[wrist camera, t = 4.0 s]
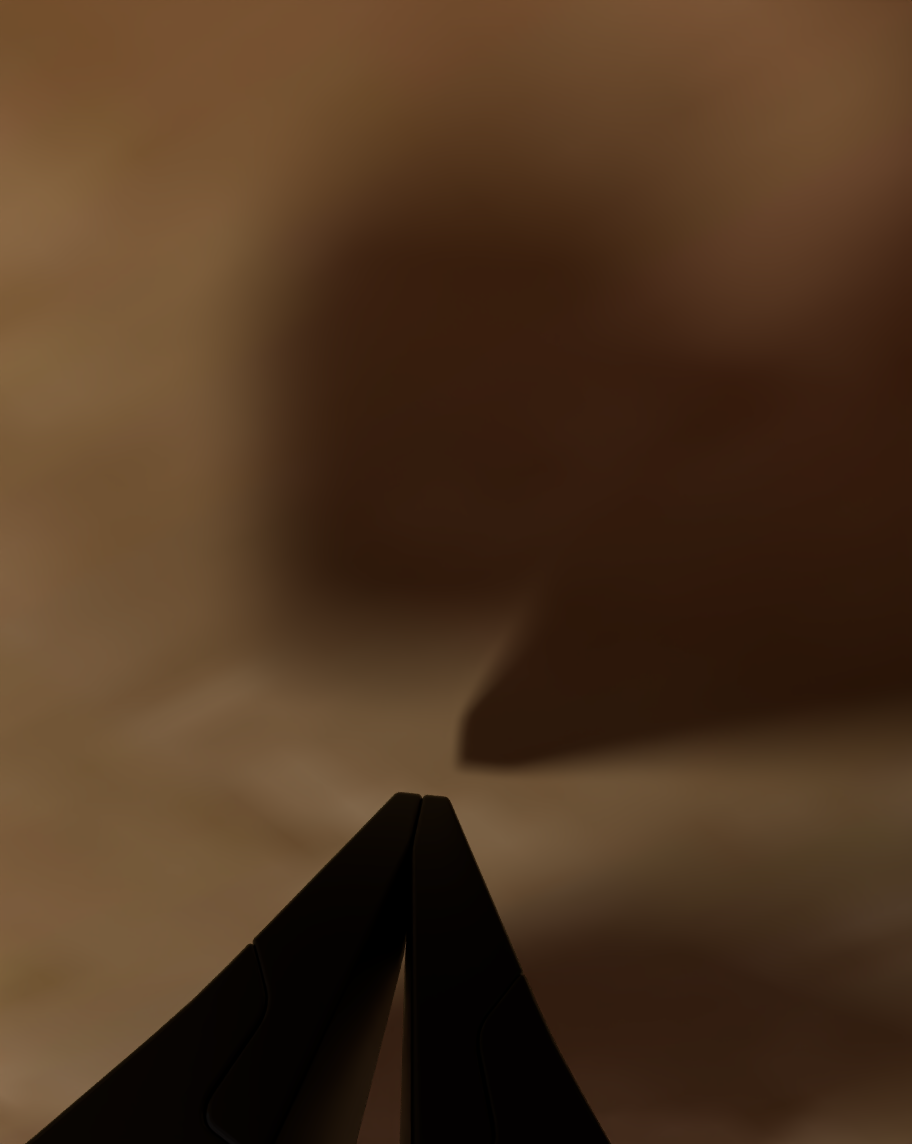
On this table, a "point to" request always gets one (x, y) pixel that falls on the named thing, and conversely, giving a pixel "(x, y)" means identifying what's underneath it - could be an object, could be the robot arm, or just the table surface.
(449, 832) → the robot arm
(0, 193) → the table surface
